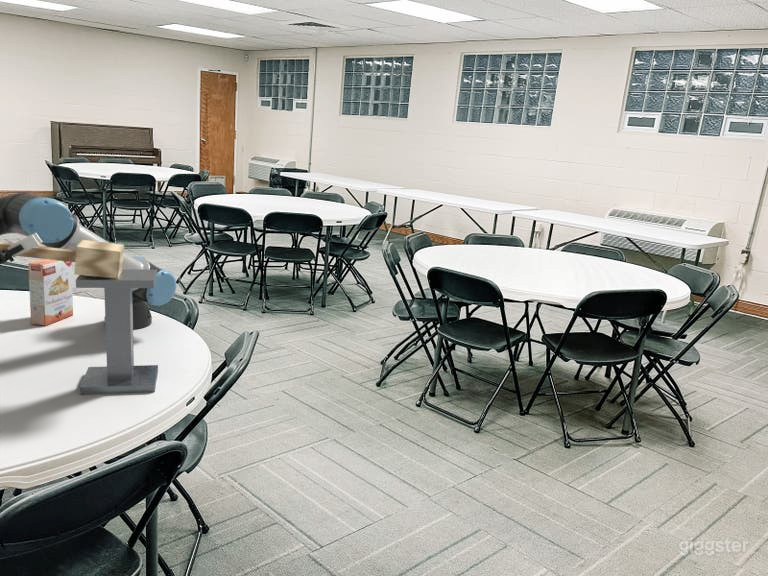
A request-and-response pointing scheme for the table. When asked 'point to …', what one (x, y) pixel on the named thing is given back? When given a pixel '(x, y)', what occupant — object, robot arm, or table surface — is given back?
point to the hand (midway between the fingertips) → (37, 238)
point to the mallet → (83, 257)
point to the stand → (119, 336)
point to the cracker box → (50, 291)
